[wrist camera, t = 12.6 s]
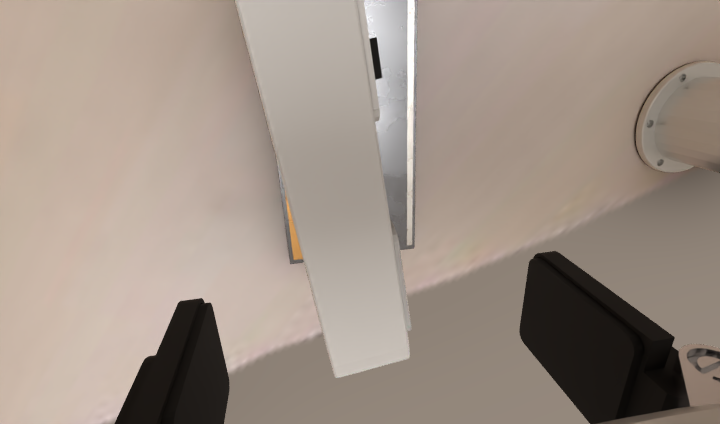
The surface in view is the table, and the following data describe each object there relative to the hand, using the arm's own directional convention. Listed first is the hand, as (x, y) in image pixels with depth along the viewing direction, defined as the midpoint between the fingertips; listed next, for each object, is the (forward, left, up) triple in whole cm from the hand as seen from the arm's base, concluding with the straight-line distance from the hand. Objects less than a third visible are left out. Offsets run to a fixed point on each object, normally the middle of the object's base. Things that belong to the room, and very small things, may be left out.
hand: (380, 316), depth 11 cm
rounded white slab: (0, 0, -29) cm, 29 cm away
